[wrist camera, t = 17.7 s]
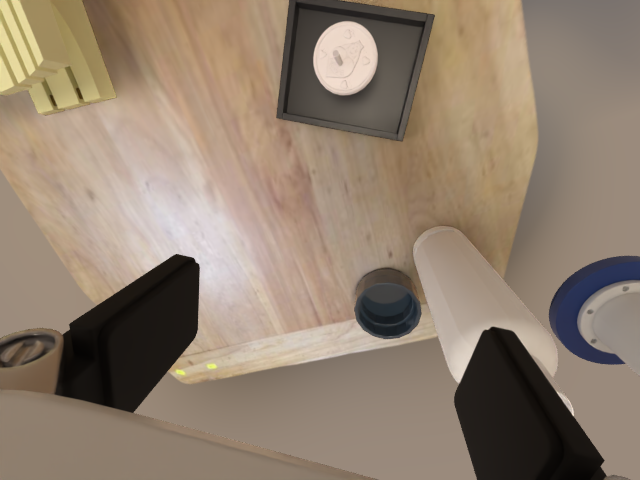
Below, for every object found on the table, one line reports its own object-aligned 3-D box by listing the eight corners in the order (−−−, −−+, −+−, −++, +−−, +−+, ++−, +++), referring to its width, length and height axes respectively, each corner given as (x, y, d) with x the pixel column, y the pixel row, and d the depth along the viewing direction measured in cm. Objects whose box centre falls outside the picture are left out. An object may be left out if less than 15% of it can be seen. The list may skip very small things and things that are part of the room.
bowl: (423, 275, 48) (429, 291, 43) (407, 325, 51) (410, 345, 46) (363, 262, 48) (362, 276, 44) (350, 312, 52) (349, 330, 47)
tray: (430, 21, 37) (435, 14, 34) (400, 140, 42) (402, 141, 39) (294, 0, 38) (289, -8, 36) (281, 118, 43) (276, 118, 41)
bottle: (436, 215, 44) (530, 342, 18) (482, 245, 45) (637, 412, 19) (401, 257, 47) (438, 418, 21) (444, 285, 48) (533, 477, 22)
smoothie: (315, 70, 40) (288, 43, 27) (356, 32, 38) (348, -17, 25) (345, 112, 41) (334, 106, 28) (386, 77, 39) (394, 53, 26)
